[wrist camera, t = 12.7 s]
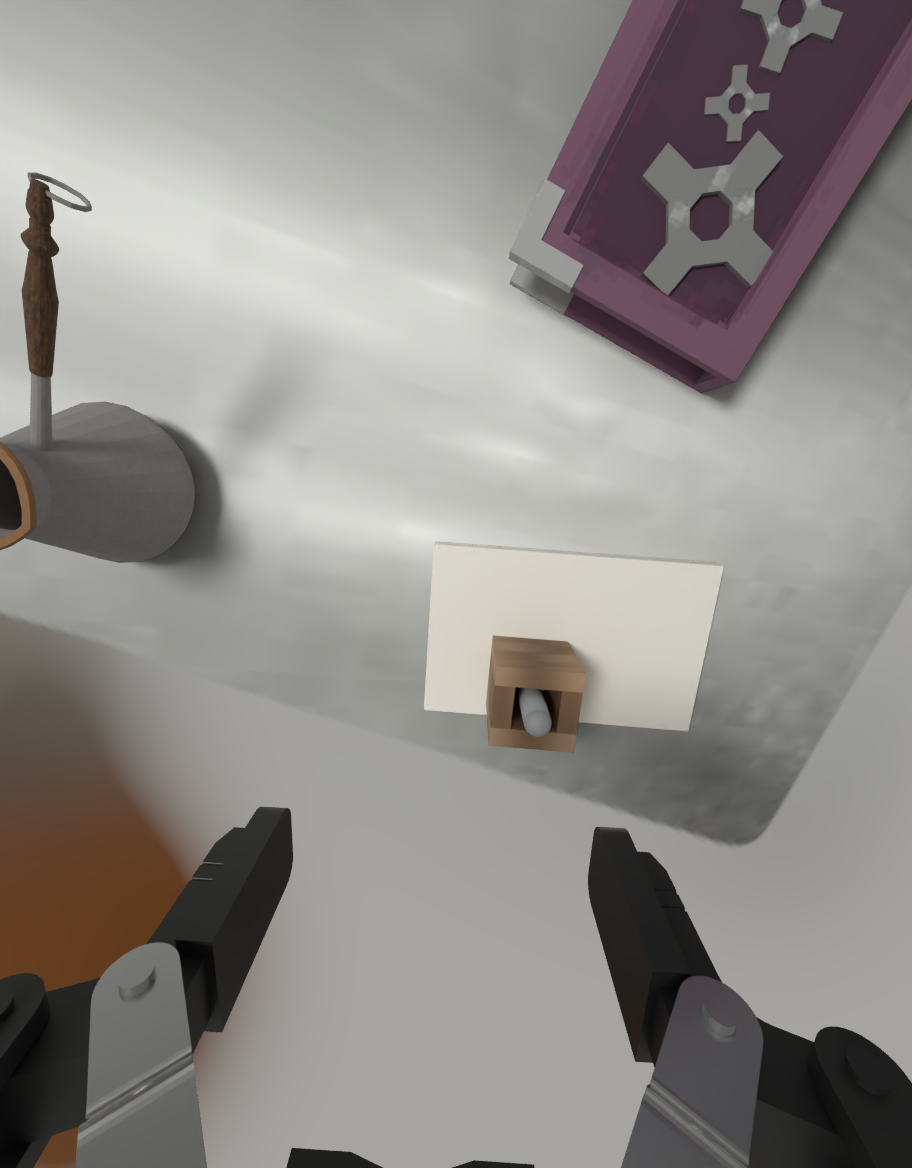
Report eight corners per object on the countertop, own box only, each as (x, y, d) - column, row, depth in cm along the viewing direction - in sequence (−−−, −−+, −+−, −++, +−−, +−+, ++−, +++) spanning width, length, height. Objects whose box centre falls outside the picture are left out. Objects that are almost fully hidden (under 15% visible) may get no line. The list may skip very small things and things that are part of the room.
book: (715, -155, 27) (769, -294, 22) (937, 0, 28) (1035, -98, 23) (504, 284, 32) (510, 251, 28) (697, 395, 34) (734, 383, 29)
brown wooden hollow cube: (567, 641, 37) (586, 673, 31) (558, 709, 38) (574, 752, 32) (492, 635, 37) (496, 666, 31) (485, 703, 38) (488, 745, 32)
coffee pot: (174, 582, 38) (-10, 652, 24) (46, 503, 37) (-231, 524, 22) (300, 349, 34) (169, 256, 19) (160, 249, 32) (-96, 68, 18)
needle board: (713, 562, 36) (801, 595, 27) (680, 721, 40) (747, 802, 30) (435, 541, 37) (422, 566, 27) (425, 701, 40) (411, 773, 30)
